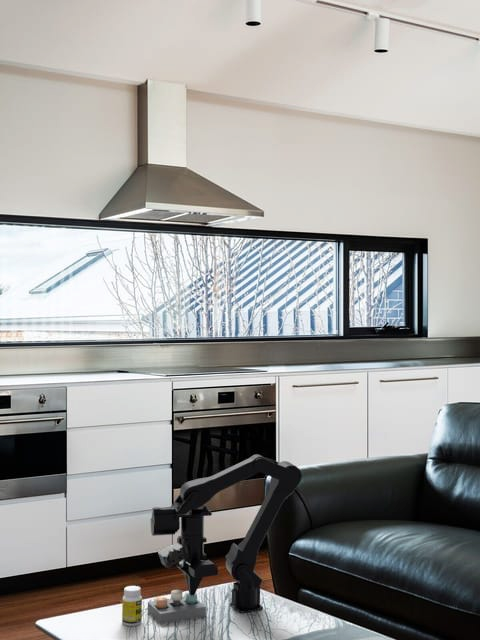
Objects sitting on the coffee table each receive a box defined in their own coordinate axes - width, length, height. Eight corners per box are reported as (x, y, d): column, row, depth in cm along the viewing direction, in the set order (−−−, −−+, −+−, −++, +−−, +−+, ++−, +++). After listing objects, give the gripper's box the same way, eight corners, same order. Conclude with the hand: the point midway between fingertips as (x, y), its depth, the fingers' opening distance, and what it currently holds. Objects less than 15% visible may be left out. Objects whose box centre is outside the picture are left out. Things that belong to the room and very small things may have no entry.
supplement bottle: (138, 627, 205) (138, 592, 205) (119, 625, 206) (119, 590, 206) (144, 619, 210) (144, 585, 210) (125, 618, 211) (126, 584, 211)
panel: (191, 604, 221) (191, 595, 221) (205, 616, 213) (205, 606, 213) (147, 611, 215) (147, 601, 215) (160, 623, 207) (160, 613, 207)
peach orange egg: (164, 612, 214) (164, 596, 214) (168, 616, 212) (169, 600, 212) (154, 614, 213) (154, 598, 213) (158, 617, 210) (158, 601, 210)
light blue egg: (194, 607, 218) (194, 592, 218) (198, 611, 215) (198, 595, 215) (184, 609, 216) (184, 593, 216) (188, 613, 214) (188, 597, 214)
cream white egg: (179, 604, 216) (179, 589, 216) (183, 608, 213) (184, 592, 213) (169, 606, 215) (169, 590, 215) (173, 610, 212) (173, 594, 212)
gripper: (149, 527, 220) (149, 588, 221) (176, 546, 203) (175, 611, 204) (189, 523, 225) (189, 582, 225) (218, 541, 208) (218, 605, 209)
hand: (191, 594), depth 216 cm, fingers closed, pressing on light blue egg
